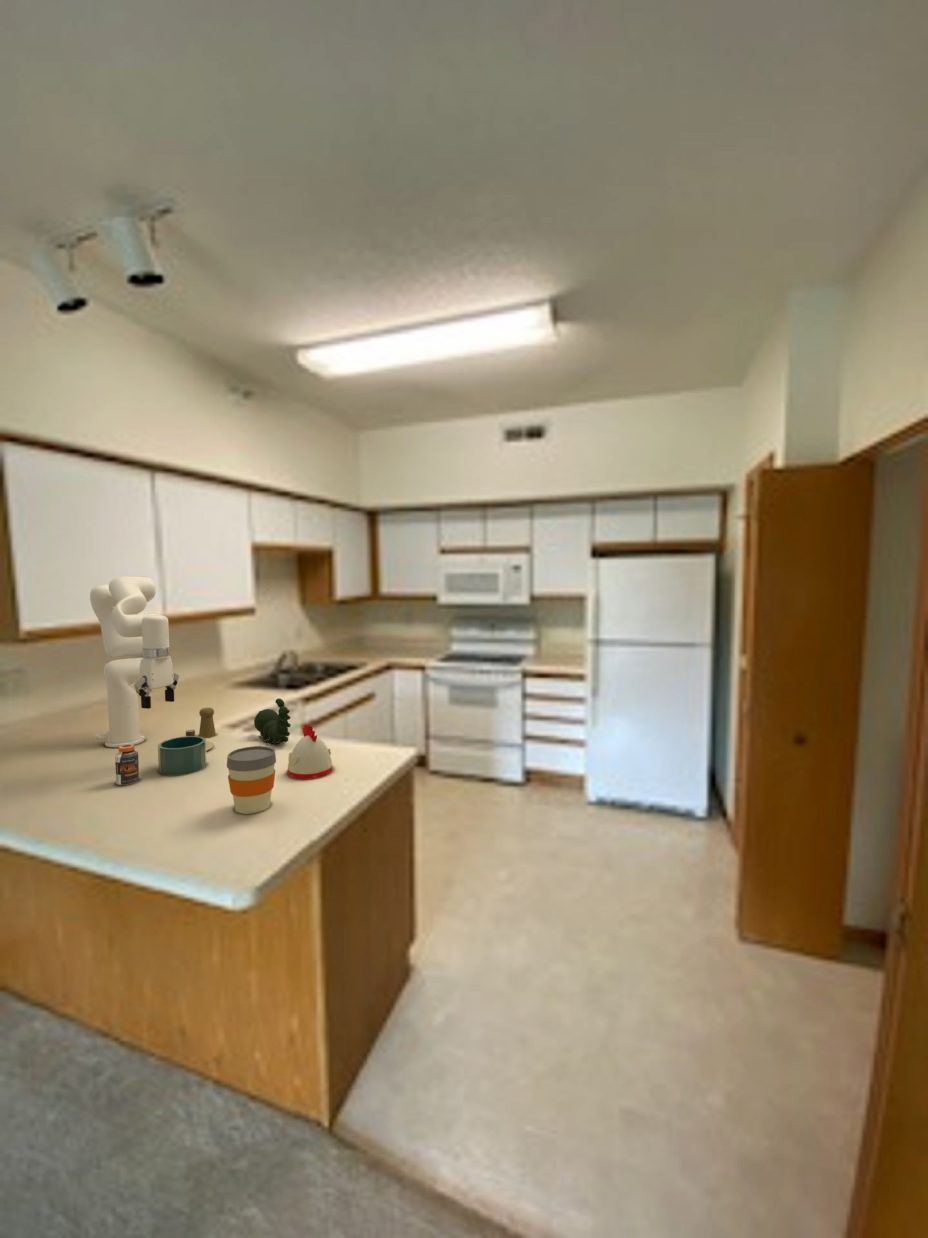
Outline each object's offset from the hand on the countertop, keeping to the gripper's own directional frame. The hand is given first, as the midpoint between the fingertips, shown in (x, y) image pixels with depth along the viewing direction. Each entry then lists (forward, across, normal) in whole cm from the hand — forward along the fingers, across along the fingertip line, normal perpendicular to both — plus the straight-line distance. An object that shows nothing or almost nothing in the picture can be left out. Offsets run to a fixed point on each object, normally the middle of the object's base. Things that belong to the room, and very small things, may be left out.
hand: (158, 704), depth 173 cm
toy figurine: (+21, -33, +20) cm, 44 cm away
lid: (+20, -16, -2) cm, 25 cm away
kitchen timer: (+21, -8, +50) cm, 55 cm away
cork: (+20, -32, -8) cm, 39 cm away
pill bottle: (+21, +14, +2) cm, 25 cm away
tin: (+21, 0, +8) cm, 22 cm away
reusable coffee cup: (+21, +20, +49) cm, 57 cm away
